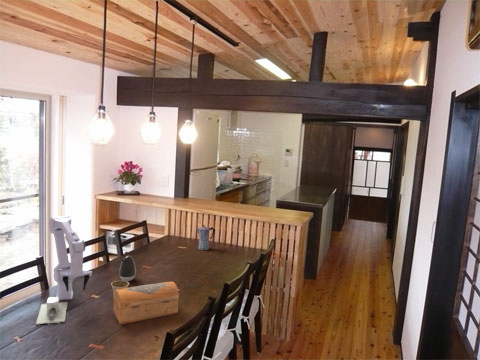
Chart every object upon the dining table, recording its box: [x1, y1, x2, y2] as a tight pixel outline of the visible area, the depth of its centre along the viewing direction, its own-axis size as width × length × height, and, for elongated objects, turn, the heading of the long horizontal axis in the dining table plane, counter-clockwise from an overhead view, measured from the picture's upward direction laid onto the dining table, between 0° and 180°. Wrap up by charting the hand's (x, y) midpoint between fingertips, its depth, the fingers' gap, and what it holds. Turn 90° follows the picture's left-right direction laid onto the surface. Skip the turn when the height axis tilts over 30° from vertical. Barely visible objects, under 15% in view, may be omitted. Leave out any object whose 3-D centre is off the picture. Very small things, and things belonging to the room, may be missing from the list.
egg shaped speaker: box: [118, 255, 137, 282], centre depth 229 cm, size 10×10×15 cm
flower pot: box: [110, 280, 130, 299], centre depth 203 cm, size 9×9×9 cm
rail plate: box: [35, 301, 68, 325], centre depth 182 cm, size 20×12×3 cm, turn 21°
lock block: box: [46, 296, 60, 315], centre depth 182 cm, size 6×5×6 cm
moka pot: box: [195, 224, 215, 251], centre depth 303 cm, size 10×15×20 cm, turn 107°
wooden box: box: [113, 281, 180, 325], centre depth 191 cm, size 30×16×14 cm, turn 121°
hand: (75, 289), depth 189 cm, fingers open, 7 cm apart
